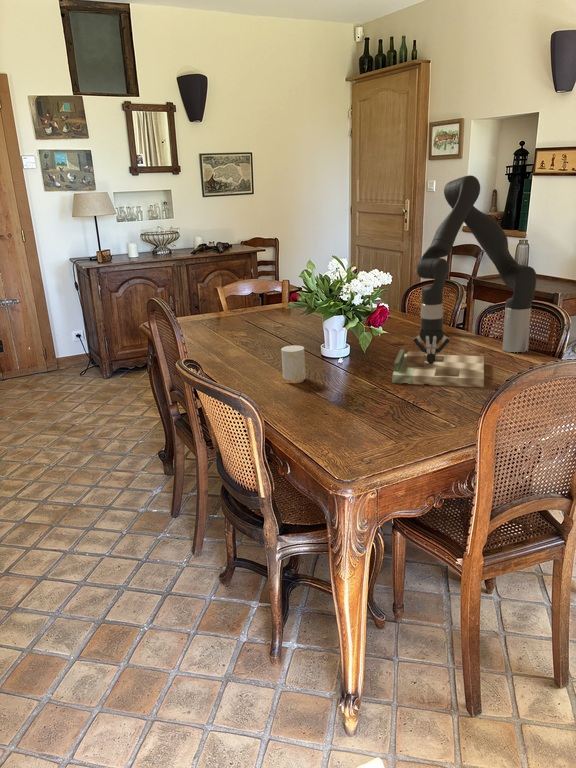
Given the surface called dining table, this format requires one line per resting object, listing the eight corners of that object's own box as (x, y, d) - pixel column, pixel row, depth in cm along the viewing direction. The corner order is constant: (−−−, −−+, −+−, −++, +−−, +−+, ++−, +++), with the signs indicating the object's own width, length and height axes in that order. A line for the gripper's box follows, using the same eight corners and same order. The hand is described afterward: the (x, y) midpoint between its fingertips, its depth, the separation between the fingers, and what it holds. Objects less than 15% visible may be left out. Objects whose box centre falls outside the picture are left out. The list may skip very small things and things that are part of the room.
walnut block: (424, 362, 211) (424, 351, 210) (423, 367, 206) (423, 356, 204) (407, 361, 213) (407, 351, 212) (406, 366, 207) (406, 356, 206)
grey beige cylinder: (289, 385, 204) (287, 353, 200) (279, 379, 211) (277, 348, 207) (309, 381, 208) (308, 348, 204) (299, 375, 215) (297, 344, 211)
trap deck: (483, 363, 215) (484, 348, 213) (483, 387, 192) (484, 370, 190) (401, 361, 224) (401, 346, 222) (392, 383, 201) (392, 366, 199)
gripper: (451, 313, 203) (450, 360, 209) (413, 313, 207) (413, 359, 213) (451, 318, 196) (449, 367, 202) (411, 318, 200) (411, 365, 206)
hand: (431, 363), depth 207 cm, fingers closed
